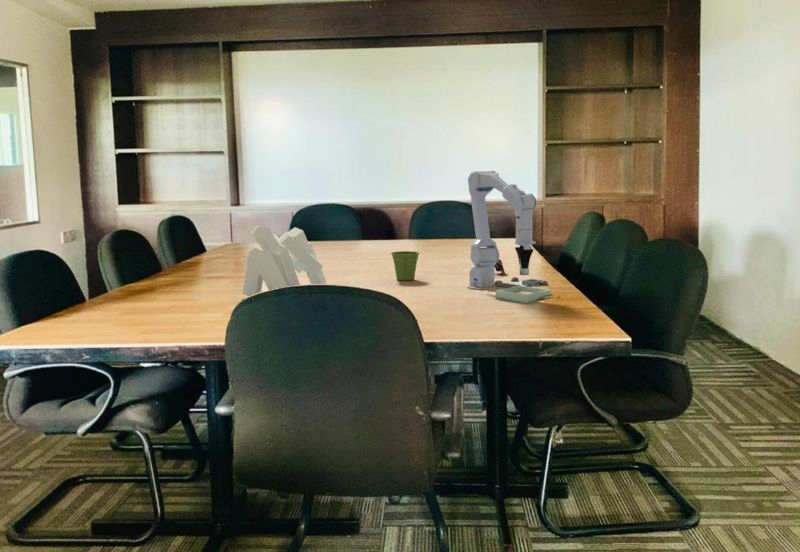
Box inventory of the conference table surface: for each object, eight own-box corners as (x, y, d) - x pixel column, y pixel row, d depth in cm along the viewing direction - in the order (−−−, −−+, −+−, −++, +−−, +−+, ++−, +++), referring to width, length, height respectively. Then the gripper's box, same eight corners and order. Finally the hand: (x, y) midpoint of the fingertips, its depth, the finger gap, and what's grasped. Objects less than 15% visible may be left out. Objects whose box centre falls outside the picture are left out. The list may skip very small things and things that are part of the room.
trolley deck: (524, 293, 269) (524, 285, 268) (491, 289, 280) (491, 281, 279) (548, 288, 279) (548, 280, 279) (516, 284, 290) (516, 276, 289)
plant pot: (424, 280, 303) (424, 253, 301) (397, 282, 298) (397, 255, 297) (413, 276, 314) (413, 250, 312) (387, 278, 309) (386, 251, 308)
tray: (527, 303, 250) (527, 295, 250) (495, 299, 260) (495, 290, 259) (550, 298, 259) (551, 289, 259) (519, 293, 269) (519, 285, 269)
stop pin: (525, 275, 259) (525, 255, 258) (517, 274, 261) (517, 254, 260) (530, 274, 261) (531, 254, 260) (523, 273, 263) (523, 254, 262)
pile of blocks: (280, 299, 297) (235, 224, 285) (345, 271, 288) (301, 193, 277) (255, 342, 265) (203, 260, 254) (328, 313, 257) (277, 227, 245)
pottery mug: (502, 278, 310) (492, 261, 309) (484, 286, 315) (474, 269, 314) (512, 266, 319) (502, 250, 318) (494, 275, 325) (484, 259, 324)
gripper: (539, 230, 251) (538, 270, 253) (532, 227, 266) (532, 264, 268) (518, 231, 252) (518, 270, 254) (512, 227, 266) (512, 265, 268)
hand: (523, 267), depth 261 cm, fingers closed on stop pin, 3 cm apart
